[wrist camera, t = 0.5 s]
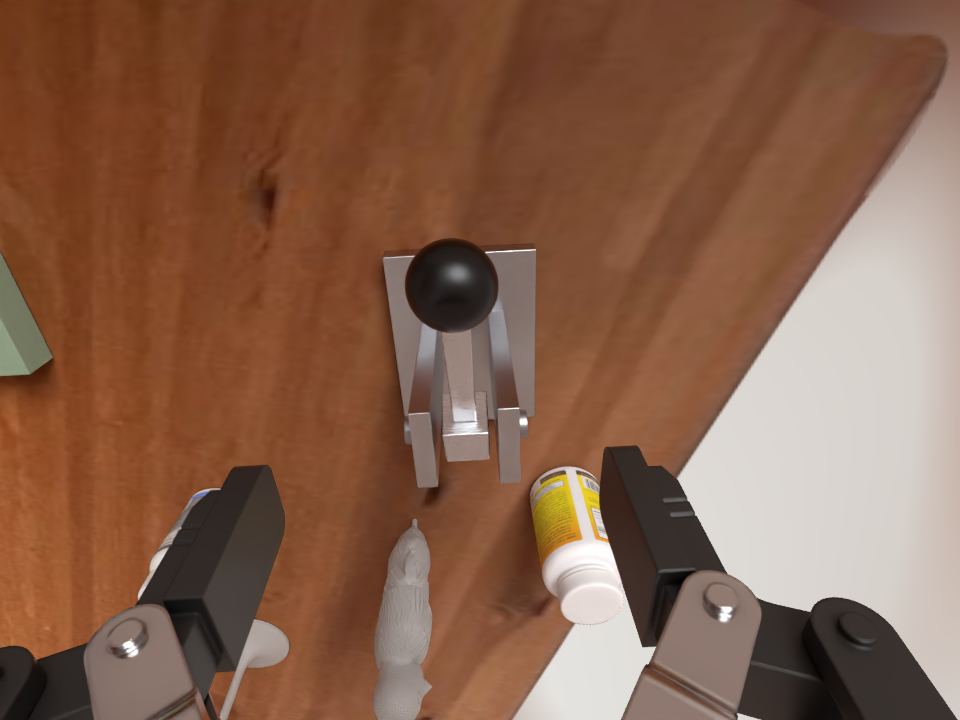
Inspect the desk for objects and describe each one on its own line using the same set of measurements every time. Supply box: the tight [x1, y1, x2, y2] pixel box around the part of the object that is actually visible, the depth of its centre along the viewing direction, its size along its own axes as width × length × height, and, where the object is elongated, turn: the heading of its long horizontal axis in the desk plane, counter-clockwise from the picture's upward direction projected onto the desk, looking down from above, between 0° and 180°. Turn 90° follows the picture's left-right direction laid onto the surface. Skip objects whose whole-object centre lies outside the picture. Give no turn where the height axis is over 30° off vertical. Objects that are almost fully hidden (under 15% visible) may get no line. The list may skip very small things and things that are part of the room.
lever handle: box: [405, 238, 499, 462], centre depth 22 cm, size 13×3×3 cm, turn 2°
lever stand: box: [383, 244, 536, 488], centre depth 30 cm, size 12×9×12 cm
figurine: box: [372, 519, 432, 720], centre depth 37 cm, size 9×4×15 cm, turn 168°
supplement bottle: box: [530, 467, 623, 625], centre depth 38 cm, size 6×6×10 cm
